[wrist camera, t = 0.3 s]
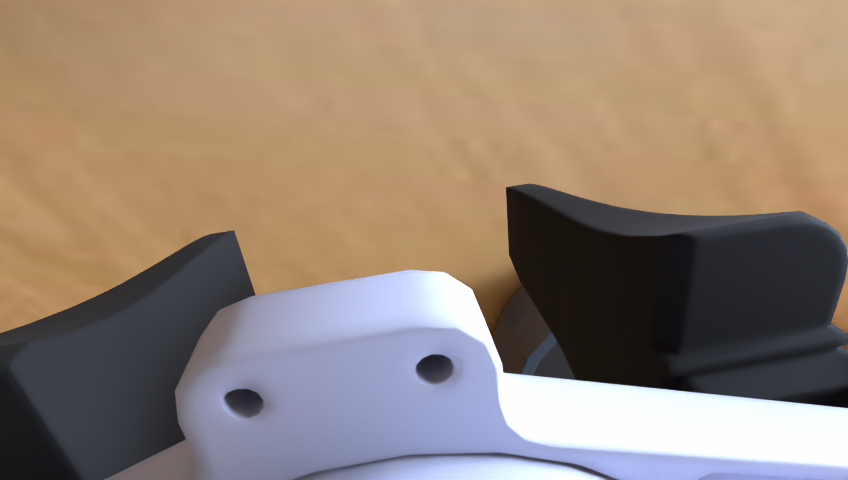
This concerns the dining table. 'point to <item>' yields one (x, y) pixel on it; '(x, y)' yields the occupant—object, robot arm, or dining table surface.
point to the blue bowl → (528, 341)
